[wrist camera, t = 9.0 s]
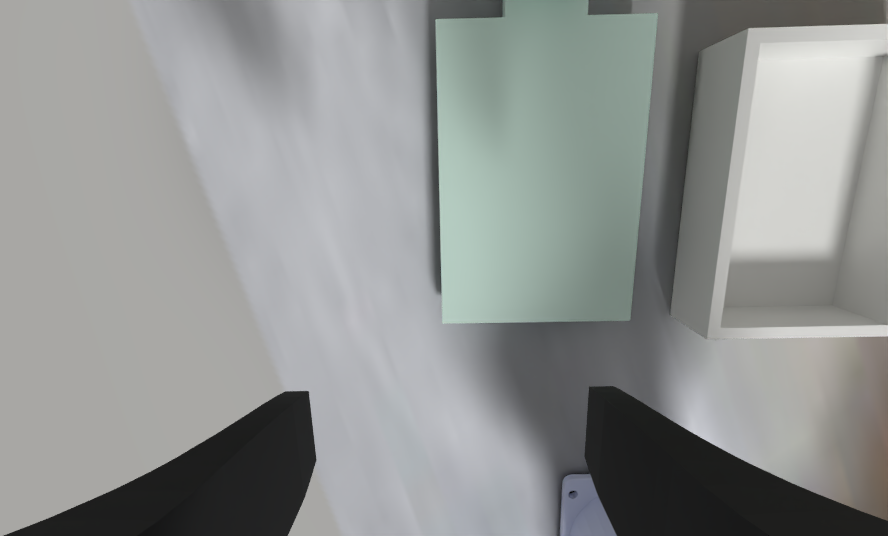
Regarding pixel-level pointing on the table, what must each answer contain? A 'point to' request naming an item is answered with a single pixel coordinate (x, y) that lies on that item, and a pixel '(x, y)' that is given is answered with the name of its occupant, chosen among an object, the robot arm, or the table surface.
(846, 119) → the tub
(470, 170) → the lid
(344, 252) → the table surface
